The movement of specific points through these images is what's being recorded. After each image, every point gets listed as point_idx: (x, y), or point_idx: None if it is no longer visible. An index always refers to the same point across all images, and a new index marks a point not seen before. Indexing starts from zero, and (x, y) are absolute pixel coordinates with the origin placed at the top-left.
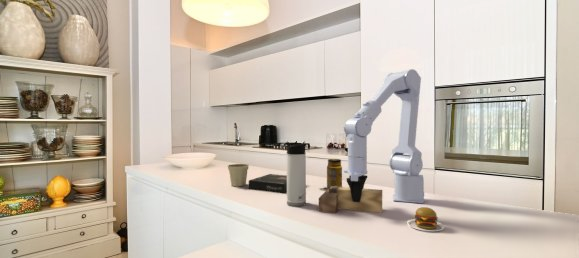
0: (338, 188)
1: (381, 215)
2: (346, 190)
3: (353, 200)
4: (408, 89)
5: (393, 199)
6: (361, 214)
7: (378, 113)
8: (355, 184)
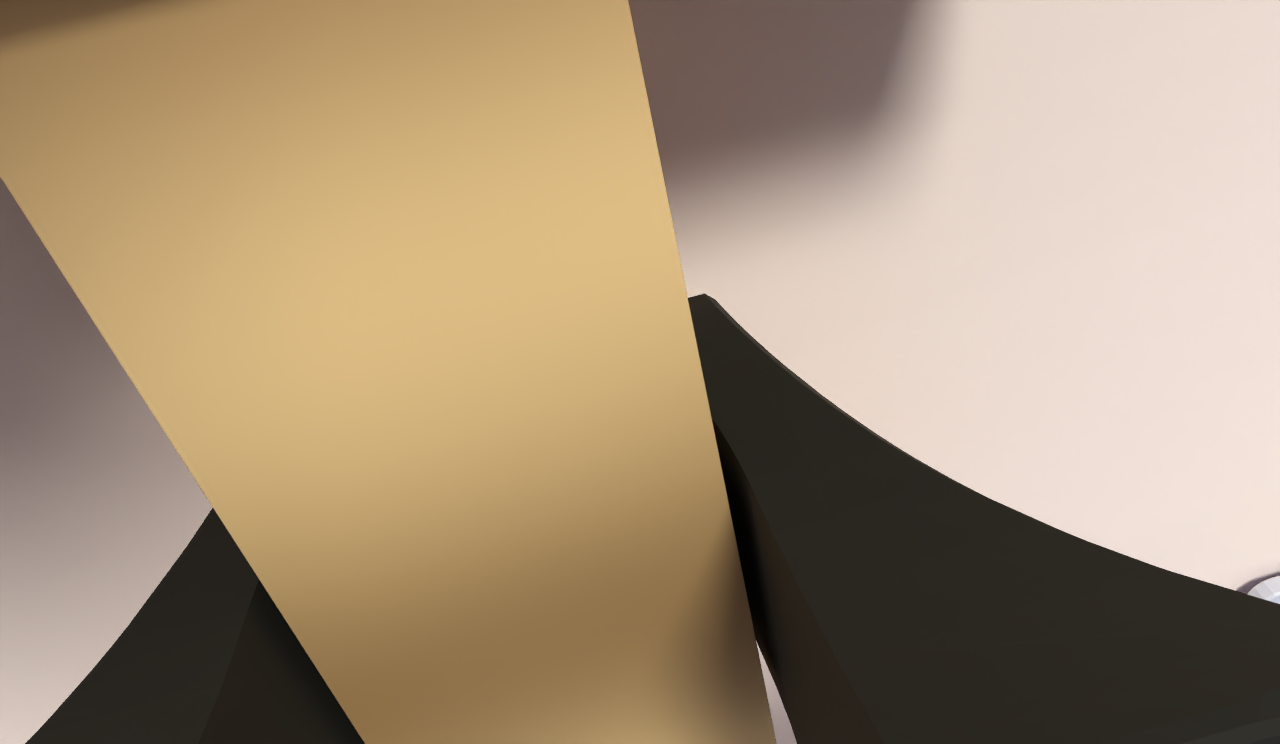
0: (170, 7)
1: None
2: (178, 445)
3: None
4: None
5: (1274, 597)
6: (157, 503)
7: None
8: None
